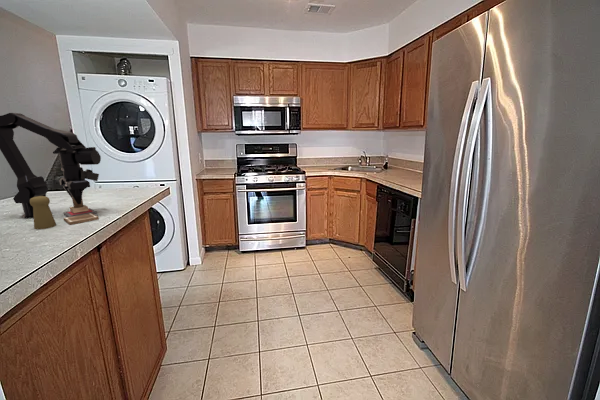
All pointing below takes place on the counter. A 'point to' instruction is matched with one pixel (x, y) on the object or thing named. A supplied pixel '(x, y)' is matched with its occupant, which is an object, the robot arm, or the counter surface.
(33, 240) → the counter surface
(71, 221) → the stamp board
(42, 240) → the counter surface
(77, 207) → the wooden stamp
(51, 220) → the cork
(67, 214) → the ink pad
